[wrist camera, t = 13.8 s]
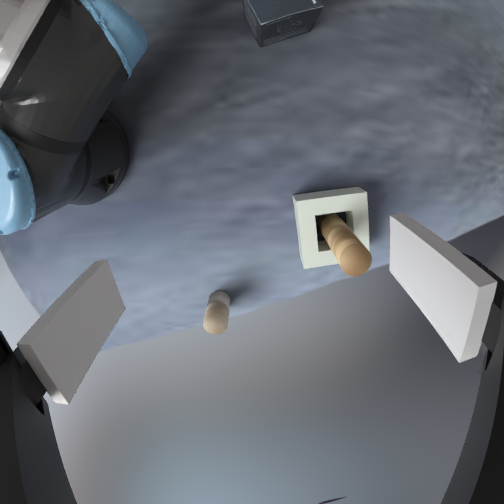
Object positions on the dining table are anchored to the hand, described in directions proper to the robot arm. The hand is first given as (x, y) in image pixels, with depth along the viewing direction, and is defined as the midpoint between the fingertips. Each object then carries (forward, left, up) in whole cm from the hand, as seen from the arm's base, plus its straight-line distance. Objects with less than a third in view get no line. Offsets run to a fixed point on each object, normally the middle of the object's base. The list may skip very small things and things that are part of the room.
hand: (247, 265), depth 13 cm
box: (+7, +21, -32) cm, 39 cm away
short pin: (-9, -20, -32) cm, 39 cm away
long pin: (+10, -10, -32) cm, 35 cm away
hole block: (+10, -10, -32) cm, 35 cm away
